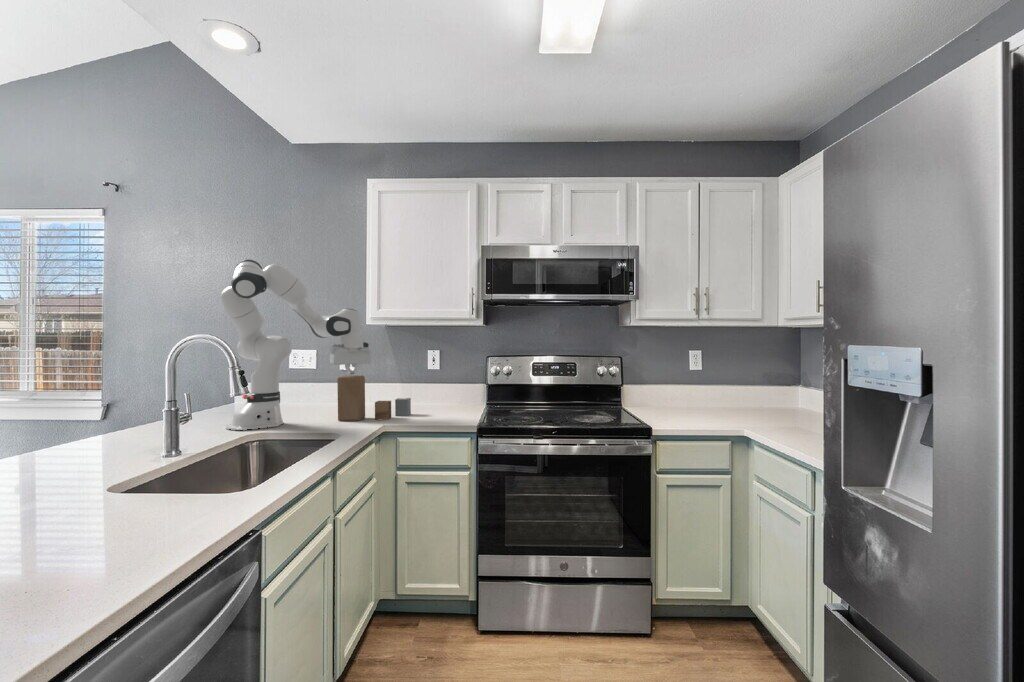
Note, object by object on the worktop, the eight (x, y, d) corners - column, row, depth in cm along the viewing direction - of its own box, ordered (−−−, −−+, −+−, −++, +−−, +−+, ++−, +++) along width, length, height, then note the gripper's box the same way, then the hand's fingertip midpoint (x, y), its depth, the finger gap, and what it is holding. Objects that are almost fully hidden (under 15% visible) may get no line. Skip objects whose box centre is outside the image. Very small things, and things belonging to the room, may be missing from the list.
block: (359, 421, 233) (358, 377, 233) (337, 421, 233) (336, 377, 233) (365, 417, 243) (365, 375, 243) (344, 417, 243) (344, 375, 243)
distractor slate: (407, 416, 246) (407, 399, 246) (395, 416, 247) (395, 399, 247) (410, 414, 252) (410, 397, 252) (398, 414, 253) (398, 397, 253)
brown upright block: (387, 419, 237) (387, 401, 237) (374, 419, 237) (374, 401, 237) (391, 417, 243) (391, 400, 243) (378, 417, 243) (378, 400, 243)
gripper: (335, 344, 227) (335, 375, 227) (373, 343, 244) (373, 373, 244) (326, 344, 231) (327, 375, 231) (364, 343, 248) (364, 372, 248)
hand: (351, 374), depth 238 cm, fingers closed
